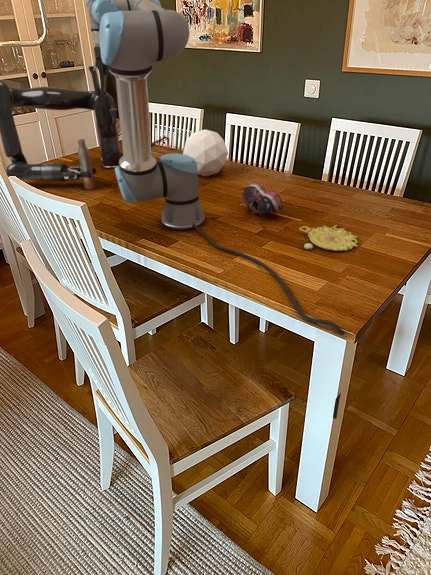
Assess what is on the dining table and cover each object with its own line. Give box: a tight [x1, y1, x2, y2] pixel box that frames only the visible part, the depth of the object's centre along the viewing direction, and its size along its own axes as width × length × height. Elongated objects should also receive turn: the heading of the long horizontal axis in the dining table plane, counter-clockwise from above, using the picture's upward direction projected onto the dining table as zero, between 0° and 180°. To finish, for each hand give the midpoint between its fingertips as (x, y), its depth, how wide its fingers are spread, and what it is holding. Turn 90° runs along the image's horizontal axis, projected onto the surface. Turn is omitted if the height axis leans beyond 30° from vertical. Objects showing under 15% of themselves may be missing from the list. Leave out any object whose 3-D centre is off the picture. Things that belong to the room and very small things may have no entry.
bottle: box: [77, 138, 96, 191], centre depth 183 cm, size 5×5×20 cm
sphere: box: [182, 128, 229, 177], centre depth 194 cm, size 19×20×20 cm
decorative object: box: [299, 224, 359, 252], centre depth 141 cm, size 21×2×20 cm
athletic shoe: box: [238, 182, 284, 217], centre depth 160 cm, size 11×22×12 cm
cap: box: [108, 107, 119, 117], centre depth 166 cm, size 4×4×2 cm
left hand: (93, 172), depth 185 cm, fingers closed on bottle, 4 cm apart
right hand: (114, 115), depth 167 cm, fingers closed on cap, 4 cm apart
